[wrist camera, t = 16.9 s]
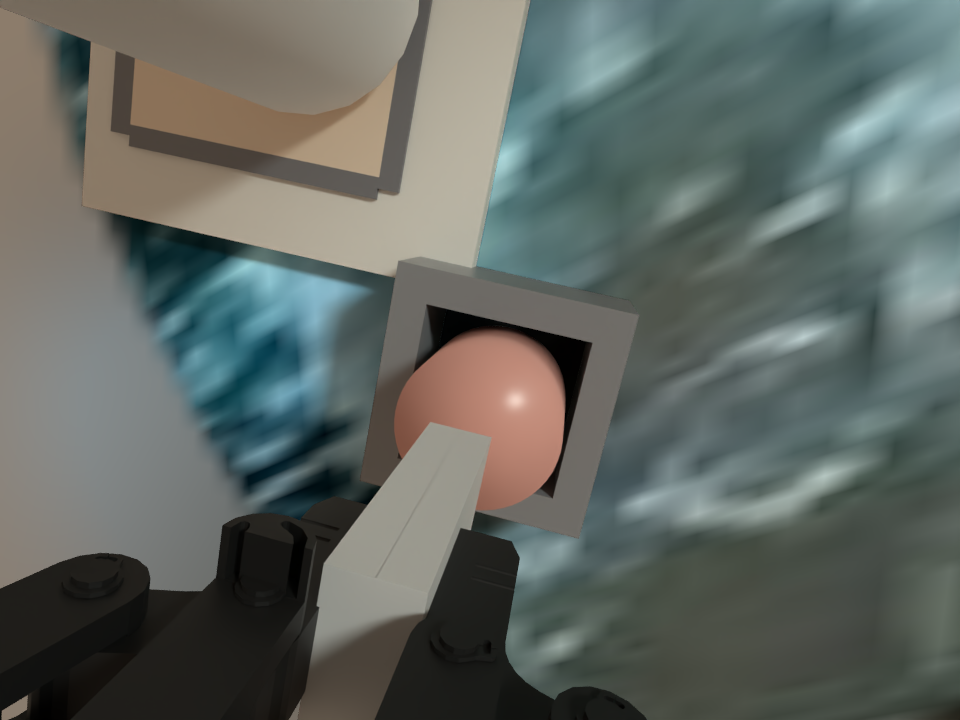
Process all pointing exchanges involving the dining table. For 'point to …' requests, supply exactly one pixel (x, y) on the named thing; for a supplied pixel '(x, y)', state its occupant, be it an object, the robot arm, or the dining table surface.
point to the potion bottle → (249, 42)
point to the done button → (492, 407)
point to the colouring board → (318, 149)
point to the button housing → (524, 303)
